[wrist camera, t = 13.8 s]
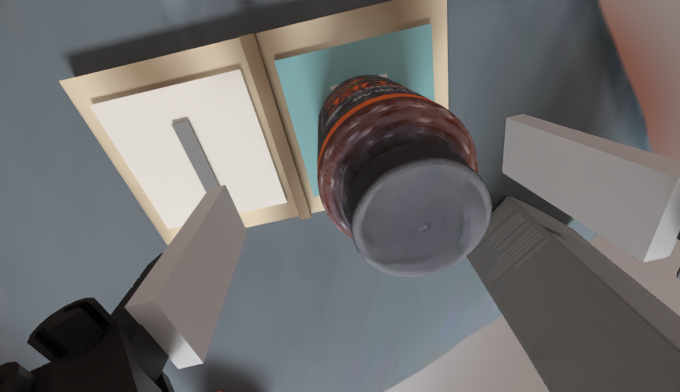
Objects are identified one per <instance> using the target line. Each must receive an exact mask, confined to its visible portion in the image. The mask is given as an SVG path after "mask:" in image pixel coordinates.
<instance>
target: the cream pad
mask: <svg viewBox="0 0 680 392" xmlns="http://www.w3.org/2000/svg"><path fill="white" fill-rule="evenodd" d="M89 106H90V107H91V109H92V110H93V112H94V114H95V115H96V117H97V118H98V120H99V121H100V123H101V125H102V126H103V128H104V129H105V131H106V132H107V134H108V136H109V137H110V139H111V140H112V142H113V143H114V145H115V147H116V148H117V150H118V151H119V153H120V154H121V156H122V158H123V159H124V161H125V162H126V164H127V165H128V167H129V169H130V170H131V172H132V173H133V175H134V176H135V178H136V180H137V181H138V183H139V184H140V186H141V187H142V189H143V191H144V192H145V194H146V195H147V197H148V198H149V200H150V202H151V203H152V205H153V206H154V208H155V209H156V211H157V213H158V214H159V216H160V217H161V219H162V220H163V222H164V224H165V225H166V227H167V228H168V229H171V228H175V227H180V226H183V225H184V223H185V222H186V220H187V219H188V218H189V216H190V215H191V214H192V212H193V211H194V209H195V208H196V207H197V205H198V204H199V202H200V201H201V200H202V198H203V197H204V195H205V194H206V193H207V191H208V190H209V189H210V188H214V187H218V186H223V185H226V187H227V189H228V191H229V194H230V196H231V198H232V200H233V202H234V204H235V207H236V209H237V211H238V213H243V212H247V211H252V210H256V209H261V208H265V207H270V206H274V205H279V204H283V203H287V198H286V195H285V192H284V189H283V187H282V184H281V181H280V178H279V175H278V172H277V170H276V167H275V164H274V161H273V158H272V155H271V152H270V150H269V147H268V144H267V141H266V138H265V135H264V133H263V130H262V127H261V124H260V121H259V118H258V115H257V113H256V110H255V107H254V104H253V101H252V98H251V96H250V93H249V90H248V87H247V84H246V81H245V78H244V76H243V73H242V70H241V69H238V70H234V71H230V72H226V73H221V74H217V75H213V76H209V77H205V78H201V79H196V80H192V81H188V82H184V83H180V84H175V85H171V86H167V87H163V88H159V89H155V90H150V91H146V92H142V93H138V94H134V95H129V96H125V97H121V98H117V99H113V100H109V101H104V102H100V103H96V104H92V105H89Z"/></svg>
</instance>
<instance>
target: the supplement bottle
mask: <svg viewBox="0 0 680 392" xmlns="http://www.w3.org/2000/svg"><path fill="white" fill-rule="evenodd" d="M318 118H319V120H318V144H317V181H318V189H319V195H320V198H321V202H322V204H323V207H324V209H325V211H326V213H327V215H328V216H329V217H330V219H331V220H332V222H333V223H334V225H336V226H337V227H338V228H339V229H340V230H341V231H342V232H343V233H345V234H346V235H347V236H349V237H351V238H352V239H353V241H354V244H355V246H356V248H357V251H358V252H359V254H361V256H362V257H363V259H364V260H365V261H367V262H368V263H369V264H370V265H371V266H373V267H375V268H376V269H378V270H380V271H382V272H385V273H388V274H391V275H394V276H402V277H403V276H404V277H420V276H427V275H431V274H434V273H438V272H441V271H443V270H445V269H446V268H448V267H451V266H453V265H455V264H456V263H458V262H459V261H461V260H462V259H463V258H465V257H466V256H467V255H468V254H469V253H470V252H472V250H473V249H474V248H475V247H476V246H477V245H478V244H479V242H480V240H481V239H482V237H483V235H484V234H485V232H486V230H487V228H488V225H489V223H490V219H491V211H492V203H491V197H490V193H489V190H488V188H487V186H486V184H485V182H484V181H483V179H482V178H481V177H480V176H479V174H478V160H477V152H476V149H475V145H474V143H473V140H472V138H471V135H470V134H469V132H468V130H467V129H466V128H465V126H464V125H463V123H462V122H461V121H460V120H459V119H458V118H457V117H456V116H455V115H454V114H453V113H451V112H450V111H449V110H448V109H446V108H445V107H443V106H442V105H440V104H438V103H436V102H434V101H432V100H430V99H428V98H427V97H424V96H422V95H421V94H418V93H417V92H414V91H412V90H410V89H408V88H406V87H404V86H402V85H401V84H399V83H397V82H394V81H392V80H390V79H388V78H386V77H381V76H377V75H361V76H356V77H353V78H350V79H347V80H345V81H344V82H342V83H341V84H339V85H338V86H337V87H336V88H335V89H333V90H332V92H331V93H330V94H329V95H328V97H327V98H326V100H325V101H324V103H323V105H322V107H321V110H320V113H319V116H318Z"/></svg>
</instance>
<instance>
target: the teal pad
mask: <svg viewBox="0 0 680 392" xmlns="http://www.w3.org/2000/svg"><path fill="white" fill-rule="evenodd" d="M274 62H275V66H276V69H277V73H278V76H279V79H280V83H281V86H282V90H283V93H284V96H285V100H286V103H287V107H288V110H289V113H290V117H291V120H292V124H293V127H294V130H295V134H296V137H297V141H298V144H299V147H300V151H301V154H302V158H303V161H304V165H305V168H306V171H307V175H308V178H309V182H310V185H311V188H312V192H313V195H314V197H315V196H319V189H318V181H317V144H318V120H319V118H318V116H319V113H320V110H321V107H322V105H323V103H324V101H325V100H326V98H327V97H328V95H329V94H330V93H331V92H332V90H333V89H335V88H336V87H337V86H338V85H339V84H341V83H342V82H344V81H345V80H347V79H350V78H353V77H356V76H361V75H377V76H381V77H386V78H388V79H390V80H392V81H394V82H397V83H399V84H401V85H402V86H404V87H406V88H408V89H410V90H412V91H414V92H417V93H418V94H421V95H422V96H424V97H427V98H428V99H430V100H432V101H434V76H433V50H432V24H426V25H422V26H418V27H414V28H410V29H405V30H401V31H397V32H393V33H389V34H385V35H380V36H376V37H372V38H368V39H364V40H359V41H355V42H351V43H347V44H343V45H339V46H334V47H330V48H326V49H322V50H318V51H313V52H309V53H305V54H301V55H297V56H293V57H288V58H284V59H280V60H276V61H274Z"/></svg>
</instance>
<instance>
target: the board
mask: <svg viewBox="0 0 680 392" xmlns="http://www.w3.org/2000/svg"><path fill="white" fill-rule="evenodd" d="M426 24H432V50H433V76H434V102H436V103H438V104H440V105H442V106H443V107H445V108H446V109H448V49H447V0H391V1H387V2H383V3H379V4H375V5H371V6H367V7H363V8H358V9H354V10H350V11H346V12H342V13H338V14H334V15H330V16H326V17H321V18H317V19H313V20H309V21H305V22H301V23H297V24H293V25H288V26H284V27H280V28H276V29H272V30H268V31H264V32H260V33H252V34H248V35H244V36H239V38H235V39H231V40H227V41H223V42H218V43H214V44H210V45H206V46H202V47H198V48H194V49H190V50H185V51H181V52H177V53H173V54H169V55H165V56H161V57H157V58H153V59H148V60H144V61H140V62H136V63H132V64H128V65H124V66H120V67H115V68H111V69H107V70H103V71H99V72H95V73H91V74H87V75H83V76H78V77H74V78H70V79H66V80H62V81H59V82H60V84H61V85H62V87H63V88H64V90H65V91H66V93H67V94H68V96H69V97H70V99H71V100H72V102H73V103H74V105H75V106H76V108H77V109H78V111H79V112H80V114H81V115H82V117H83V118H84V120H85V121H86V123H87V124H88V126H89V127H90V129H91V130H92V132H93V133H94V135H95V137H96V138H97V140H98V141H99V143H100V144H101V146H102V147H103V149H104V150H105V152H106V153H107V155H108V156H109V158H110V159H111V161H112V162H113V164H114V165H115V167H116V168H117V170H118V171H119V173H120V174H121V176H122V177H123V179H124V180H125V182H126V183H127V185H128V186H129V188H130V189H131V191H132V192H133V194H134V195H135V197H136V199H137V200H138V202H139V203H140V205H141V206H142V208H143V209H144V211H145V212H146V214H147V215H148V217H149V218H150V220H151V221H152V223H153V224H154V226H155V227H156V229H157V230H158V232H159V233H160V235H161V236H162V238H163V239H164V241H165V242H166V244H167V245H169V244H170V243H171V241H172V240H173V239H174V237H175V236H176V234H177V233H178V232H179V230H180V229H181V227H182V226H180V227H175V228H171V229H168V228H167V227H166V225H165V224H164V222H163V220H162V219H161V217H160V216H159V214H158V213H157V211H156V209H155V208H154V206H153V205H152V203H151V202H150V200H149V198H148V197H147V195H146V194H145V192H144V191H143V189H142V187H141V186H140V184H139V183H138V181H137V180H136V178H135V176H134V175H133V173H132V172H131V170H130V169H129V167H128V165H127V164H126V162H125V161H124V159H123V158H122V156H121V154H120V153H119V151H118V150H117V148H116V147H115V145H114V143H113V142H112V140H111V139H110V137H109V136H108V134H107V132H106V131H105V129H104V128H103V126H102V125H101V123H100V121H99V120H98V118H97V117H96V115H95V114H94V112H93V110H92V109H91V107H90V106H89V105H92V104H96V103H100V102H104V101H109V100H113V99H117V98H121V97H125V96H129V95H134V94H138V93H142V92H146V91H150V90H155V89H159V88H163V87H167V86H171V85H175V84H180V83H184V82H188V81H192V80H196V79H201V78H205V77H209V76H213V75H217V74H221V73H226V72H230V71H234V70H238V69H241V70H242V73H243V76H244V78H245V81H246V84H247V87H248V90H249V93H250V96H251V98H252V101H253V104H254V107H255V110H256V113H257V115H258V118H259V121H260V124H261V127H262V130H263V133H264V135H265V138H266V141H267V144H268V147H269V150H270V152H271V155H272V158H273V161H274V164H275V167H276V170H277V172H278V175H279V178H280V181H281V184H282V187H283V189H284V192H285V195H286V198H287V203H283V204H279V205H274V206H270V207H265V208H261V209H256V210H252V211H247V212H243V213H239V215H240V217H241V219H242V222H243V224H244V226H245V228H247V227H251V226H256V225H260V224H265V223H269V222H274V221H279V220H283V219H288V218H292V217H297V216H299V217H300V220H303V219H307V218H311V213H315V212H319V211H324V210H325V209H324V207H323V204H322V202H321V198H320V195H319V196H315V197H314V195H313V192H312V188H311V185H310V182H309V178H308V175H307V171H306V168H305V165H304V161H303V158H302V154H301V151H300V147H299V144H298V141H297V137H296V134H295V130H294V127H293V124H292V120H291V117H290V113H289V110H288V107H287V103H286V100H285V96H284V93H283V90H282V86H281V83H280V79H279V76H278V73H277V69H276V66H275V62H274V61H276V60H280V59H284V58H288V57H293V56H297V55H301V54H305V53H309V52H313V51H318V50H322V49H326V48H330V47H334V46H339V45H343V44H347V43H351V42H355V41H359V40H364V39H368V38H372V37H376V36H380V35H385V34H389V33H393V32H397V31H401V30H405V29H410V28H414V27H418V26H422V25H426Z"/></svg>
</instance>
